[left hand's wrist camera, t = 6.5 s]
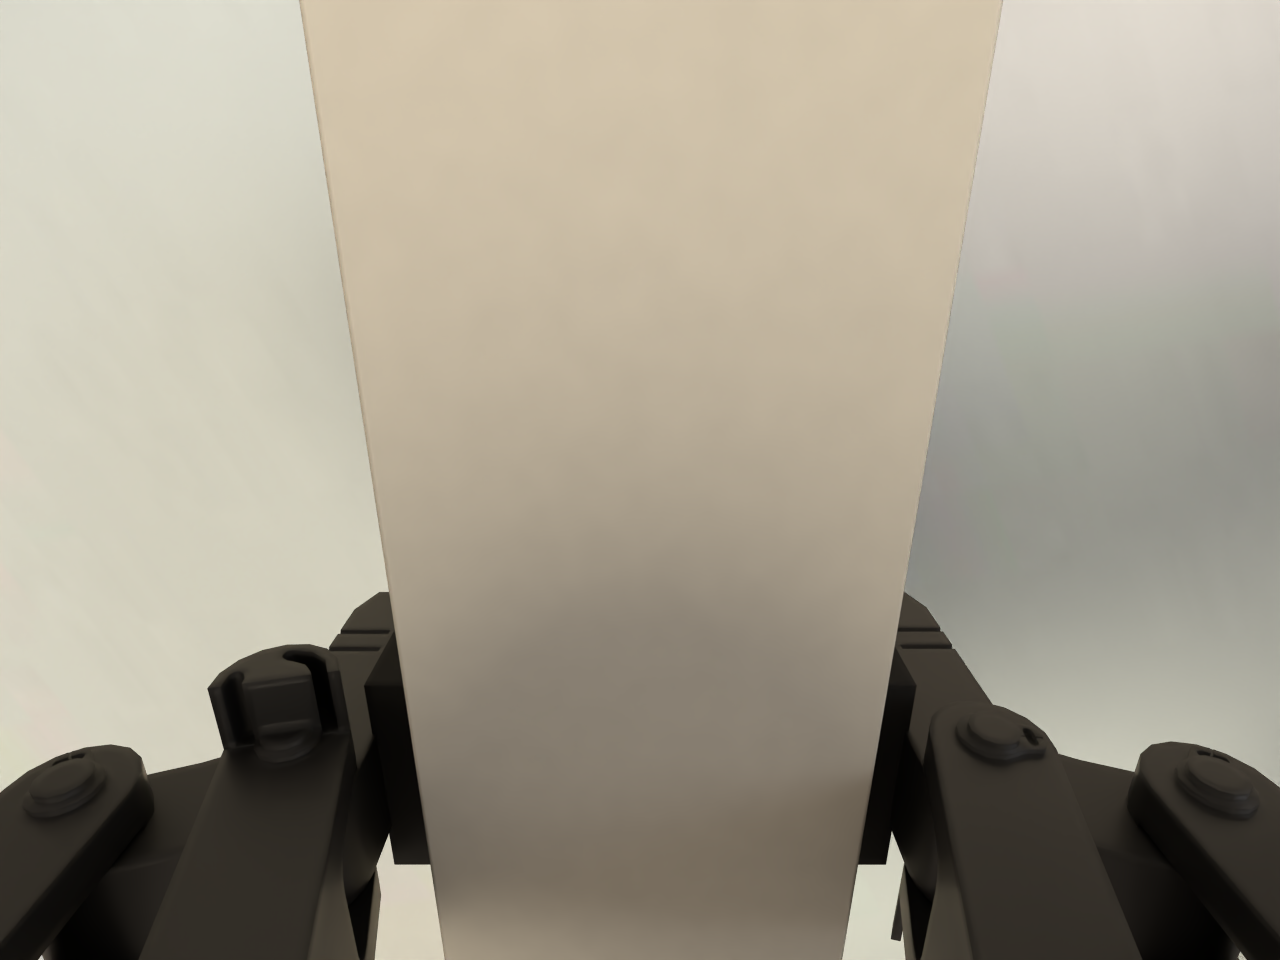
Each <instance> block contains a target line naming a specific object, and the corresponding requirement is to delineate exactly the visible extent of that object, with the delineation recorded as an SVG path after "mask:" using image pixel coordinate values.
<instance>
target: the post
mask: <svg viewBox="0 0 1280 960" xmlns="http://www.w3.org/2000/svg"><path fill="white" fill-rule="evenodd" d="M299 2H300V8H301V15H302V21H303V28H304V35H305V41H306V48H307V54H308V61H309V67H310V74H311V81H312V87H313V94H314V100H315V107H316V114H317V120H318V127H319V133H320V140H321V147H322V153H323V160H324V166H325V173H326V179H327V186H328V193H329V199H330V206H331V212H332V219H333V226H334V232H335V239H336V245H337V252H338V258H339V265H340V272H341V278H342V285H343V291H344V298H345V305H346V311H347V318H348V324H349V331H350V337H351V344H352V351H353V357H354V364H355V370H356V377H357V384H358V390H359V397H360V403H361V410H362V416H363V423H364V430H365V436H366V443H367V449H368V456H369V463H370V469H371V476H372V482H373V489H374V495H375V502H376V509H377V515H378V522H379V528H380V535H381V542H382V548H383V555H384V561H385V568H386V575H387V581H388V588H389V594H390V601H391V607H392V614H393V621H394V627H395V634H396V640H397V647H398V654H399V660H400V667H401V673H402V680H403V686H404V693H405V700H406V706H407V713H408V719H409V726H410V733H411V739H412V746H413V752H414V759H415V765H416V772H417V779H418V785H419V792H420V798H421V805H422V812H423V818H424V825H425V831H426V838H427V844H428V851H429V858H430V864H431V871H432V877H433V884H434V891H435V897H436V904H437V910H438V917H439V923H440V930H441V937H442V943H443V950H444V956H445V960H842V956H843V950H844V945H845V939H846V933H847V927H848V921H849V915H850V909H851V903H852V897H853V891H854V885H855V879H856V873H857V867H858V861H859V855H860V849H861V843H862V837H863V831H864V825H865V819H866V814H867V808H868V802H869V796H870V790H871V784H872V778H873V772H874V766H875V760H876V754H877V748H878V742H879V736H880V730H881V724H882V718H883V712H884V706H885V700H886V694H887V689H888V683H889V677H890V671H891V665H892V659H893V653H894V647H895V641H896V635H897V629H898V623H899V617H900V611H901V605H902V599H903V593H904V587H905V581H906V575H907V569H908V563H909V558H910V552H911V546H912V540H913V534H914V528H915V522H916V516H917V510H918V504H919V498H920V492H921V486H922V480H923V474H924V468H925V462H926V456H927V450H928V444H929V438H930V433H931V427H932V421H933V415H934V409H935V403H936V397H937V391H938V385H939V379H940V373H941V367H942V361H943V355H944V349H945V343H946V337H947V331H948V325H949V319H950V313H951V307H952V302H953V296H954V290H955V284H956V278H957V272H958V266H959V260H960V254H961V248H962V242H963V236H964V230H965V224H966V218H967V212H968V206H969V200H970V194H971V188H972V182H973V177H974V171H975V165H976V159H977V153H978V147H979V141H980V135H981V129H982V123H983V117H984V111H985V105H986V99H987V93H988V87H989V81H990V75H991V69H992V63H993V57H994V51H995V46H996V40H997V34H998V28H999V22H1000V16H1001V10H1002V4H1003V0H299Z"/></svg>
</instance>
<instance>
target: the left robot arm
mask: <svg viewBox="0 0 1280 960" xmlns="http://www.w3.org/2000/svg"><path fill="white" fill-rule="evenodd" d="M208 692H209V696H210V699H211V703H212V707H213V711H214V714H215V718H216V722H217V725H218V729H219V733H220V736H221V740H222V744H223V748H224V751H223V753H222V756H221V757H220V758H217V759H213V760H210V761H206V762H203V763H199V764H194V765H190V766H185V767H181V768H176V769H172V770H167V771H163V772H158V773H154V774H149V775H147V774H146V771H145V767H144V764H143V761H142V758H141V757H140V756H139V755H138V754H137V753H136V752H135V751H133V750H132V749H131V748H128V747H122V746H117V745H103V746H95V747H86V748H82V749H79V750H76V751H72V752H70V753H66V754H63V755H60V756H58V757H55V758H53V759H51V760H49V761H47V762H45V763H43V764H41V765H39V766H37V767H36V768H34V769H32V770H30V771H28V772H26V773H25V774H24V775H22V776H21V777H20V778H18V779H17V780H16V781H14V782H13V783H12V784H11V785H9V786H8V787H7V788H5V789H4V790H3V791H2V792H1V793H0V960H38V959H39V958H40V956H41V955H42V956H43V958H44V960H374V959H375V949H376V939H377V929H378V919H379V910H380V900H381V892H380V885H379V878H378V873H377V867H376V865H377V863H378V860H379V858H380V855H381V852H382V850H383V847H384V845H385V842H386V840H387V837H388V834H389V835H390V841H391V846H392V852H393V858H394V864H430V858H429V851H428V844H427V838H426V831H425V825H424V818H423V812H422V805H421V798H420V792H419V785H418V779H417V772H416V765H415V759H414V752H413V746H412V739H411V733H410V726H409V719H408V713H407V706H406V700H405V693H404V686H403V680H402V673H401V667H400V660H399V654H398V647H397V640H396V634H395V627H394V621H393V614H392V607H391V601H390V594H389V592H379V593H377V594H376V595H375V596H373V597H372V598H370V599H369V600H368V601H366V602H365V603H363V604H362V605H360V606H359V607H358V608H356V609H355V610H354V611H353V613H352V614H351V616H350V617H349V619H348V620H347V621H346V623H345V624H344V626H343V627H342V629H341V634H338V635H337V636H336V638H335V639H334V641H333V642H332V644H331V645H330V647H329V650H328V649H326V648H322V647H318V646H314V645H310V644H299V645H284V646H279V647H275V648H270V649H266V650H262V651H260V652H257V653H255V654H252V655H250V656H248V657H245V658H243V659H240V660H238V661H237V662H235V663H234V664H233V665H231V666H230V667H228V668H227V669H225V670H224V671H222V672H221V673H219V675H218V676H217V677H216V678H215V680H214V681H213V682H212V683H211V685H210V686H209V687H208ZM891 832H893V835H894V837H895V840H896V842H897V845H898V847H899V850H900V853H901V855H902V858H903V860H904V867H903V873H902V878H901V884H900V889H899V894H898V900H897V905H896V911H895V916H894V921H893V928H892V935H891V939H893V940H897V941H901V936H902V931H903V937H904V947H905V957H906V960H1239V959H1238V955H1239V953H1240V952H1241V953H1242V954H1243V955H1244V957H1245V958H1246V959H1247V960H1280V788H1279V787H1278V786H1277V785H1276V784H1274V783H1273V782H1272V781H1270V780H1269V779H1268V778H1266V777H1265V776H1264V775H1262V774H1261V773H1260V772H1258V771H1257V770H1256V769H1254V768H1253V767H1251V766H1249V765H1247V764H1245V763H1243V762H1241V761H1239V760H1237V759H1235V758H1233V757H1231V756H1229V755H1227V754H1225V753H1222V752H1219V751H1216V750H1212V749H1210V748H1206V747H1203V746H1199V745H1196V744H1188V743H1179V742H1165V743H1159V744H1153V745H1151V746H1149V747H1148V748H1147V749H1146V750H1145V751H1144V752H1142V753H1141V754H1140V757H1139V760H1138V763H1137V766H1136V769H1135V772H1132V771H1127V770H1123V769H1118V768H1114V767H1109V766H1105V765H1100V764H1095V763H1091V762H1086V761H1082V760H1078V759H1074V758H1071V757H1067V756H1064V755H1061V754H1058V752H1057V750H1056V748H1055V746H1054V745H1053V743H1052V742H1051V741H1050V739H1049V738H1048V736H1047V735H1046V733H1045V732H1044V731H1042V730H1041V729H1040V728H1038V727H1037V726H1036V725H1035V724H1033V723H1032V722H1031V721H1030V720H1028V719H1027V718H1025V717H1023V716H1021V715H1019V714H1017V713H1015V712H1013V711H1010V710H1008V709H1006V708H1004V707H1000V706H996V705H993V704H992V703H991V701H990V700H989V698H988V697H987V696H986V694H985V693H984V691H983V690H982V688H981V687H980V685H979V684H978V682H977V681H976V679H975V678H974V676H973V675H972V674H971V672H970V671H969V669H968V668H967V666H966V665H965V663H964V662H963V660H962V659H961V657H960V656H959V654H958V653H957V652H956V650H955V649H952V644H951V643H950V641H949V640H948V638H947V637H946V635H945V634H944V633H943V632H940V627H939V625H938V624H937V622H936V621H935V619H934V618H933V616H932V615H931V613H930V612H929V611H928V609H927V608H926V607H925V606H924V605H922V604H921V603H919V602H918V601H917V600H915V599H914V598H912V597H911V596H909V595H908V594H907V593H905V592H904V593H903V599H902V605H901V611H900V617H899V623H898V629H897V635H896V641H895V647H894V653H893V659H892V665H891V671H890V677H889V683H888V689H887V694H886V700H885V706H884V712H883V718H882V724H881V730H880V736H879V742H878V748H877V754H876V760H875V766H874V772H873V778H872V784H871V790H870V796H869V802H868V808H867V814H866V819H865V825H864V831H863V837H862V843H861V849H860V855H859V861H858V865H886V861H887V855H888V849H889V843H890V838H891Z"/></svg>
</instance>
